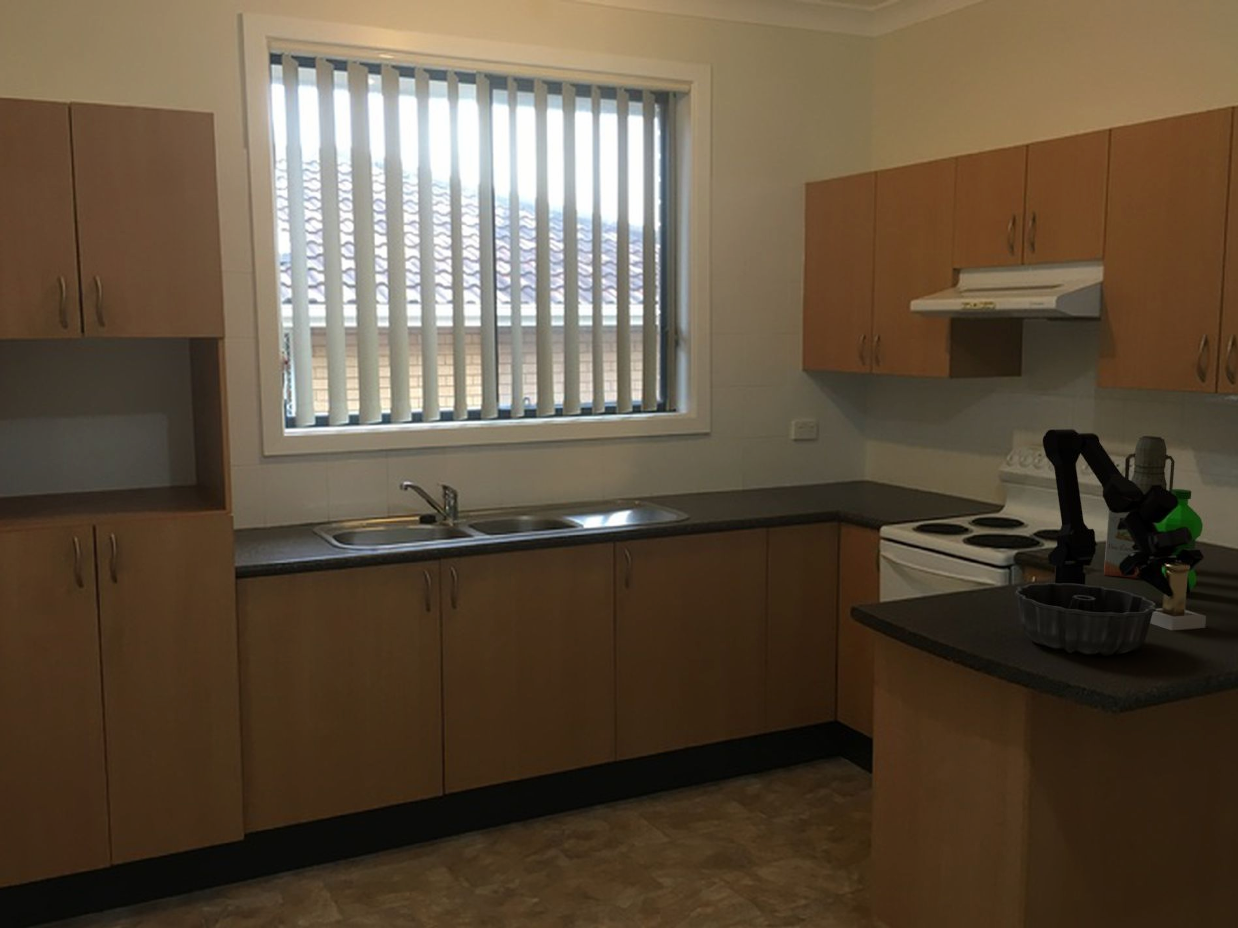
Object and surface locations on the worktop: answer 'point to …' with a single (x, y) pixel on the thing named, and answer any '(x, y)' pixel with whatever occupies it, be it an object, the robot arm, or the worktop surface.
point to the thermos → (1150, 464)
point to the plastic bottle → (1183, 525)
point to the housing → (1178, 620)
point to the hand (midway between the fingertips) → (1179, 595)
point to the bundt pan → (1084, 617)
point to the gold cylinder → (1176, 588)
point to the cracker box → (1117, 546)
